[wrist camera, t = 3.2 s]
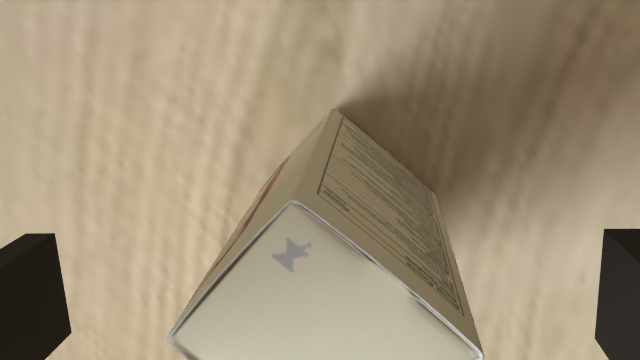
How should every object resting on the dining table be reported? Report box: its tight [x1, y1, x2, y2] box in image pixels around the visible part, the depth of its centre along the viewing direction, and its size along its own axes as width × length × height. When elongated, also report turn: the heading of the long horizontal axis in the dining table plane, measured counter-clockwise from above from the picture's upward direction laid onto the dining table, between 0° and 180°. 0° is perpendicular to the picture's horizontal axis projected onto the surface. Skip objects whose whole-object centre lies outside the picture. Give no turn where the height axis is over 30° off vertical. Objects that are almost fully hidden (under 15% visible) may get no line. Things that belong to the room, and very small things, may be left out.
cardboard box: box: [168, 110, 484, 360], centre depth 16 cm, size 5×4×10 cm
